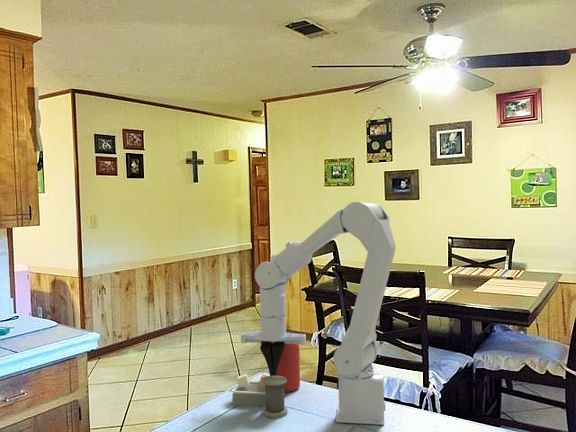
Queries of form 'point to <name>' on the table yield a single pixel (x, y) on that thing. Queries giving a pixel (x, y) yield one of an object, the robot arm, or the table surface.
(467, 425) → the table surface
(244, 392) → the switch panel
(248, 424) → the table surface
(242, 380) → the cream cube
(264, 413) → the cord spool
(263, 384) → the orange cube
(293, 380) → the beer can
